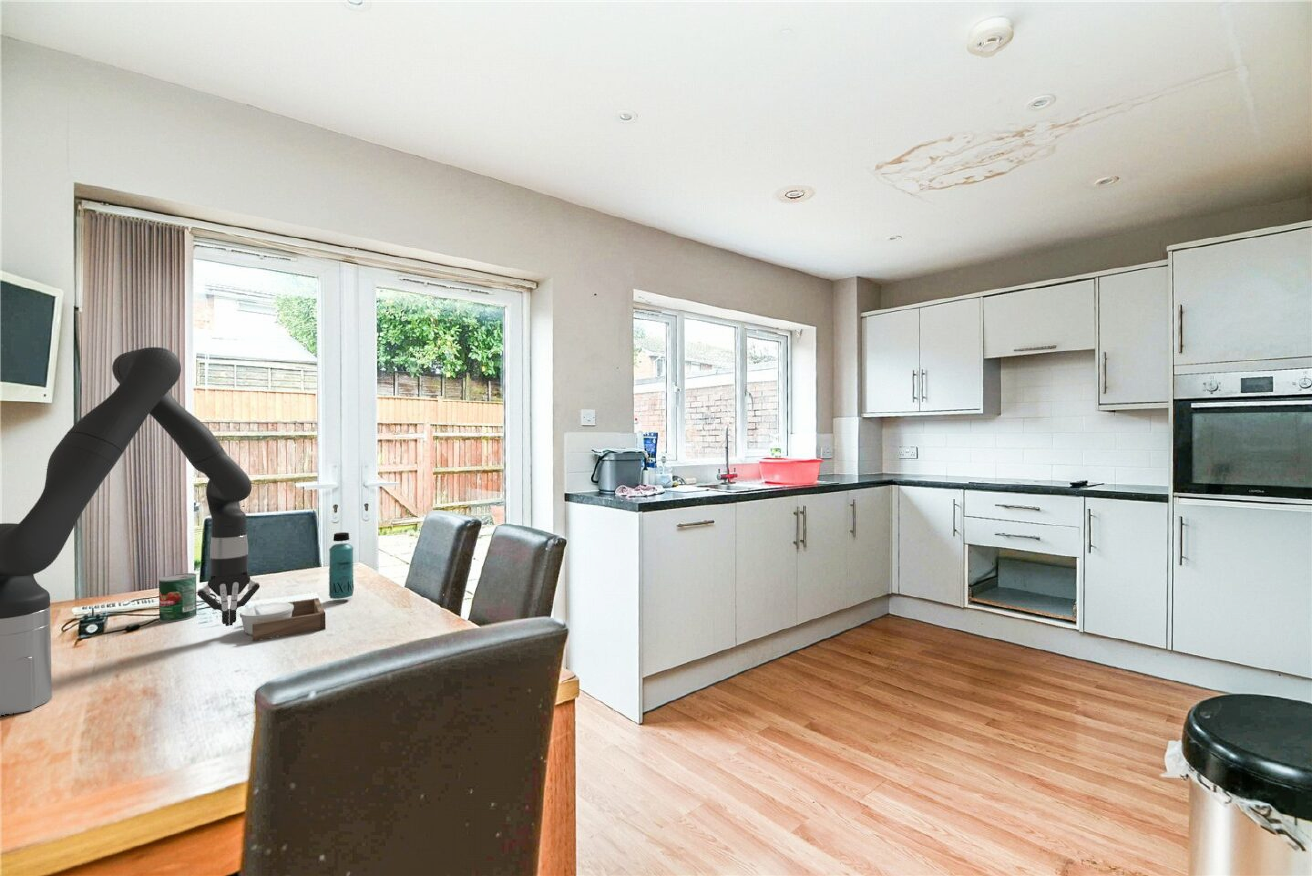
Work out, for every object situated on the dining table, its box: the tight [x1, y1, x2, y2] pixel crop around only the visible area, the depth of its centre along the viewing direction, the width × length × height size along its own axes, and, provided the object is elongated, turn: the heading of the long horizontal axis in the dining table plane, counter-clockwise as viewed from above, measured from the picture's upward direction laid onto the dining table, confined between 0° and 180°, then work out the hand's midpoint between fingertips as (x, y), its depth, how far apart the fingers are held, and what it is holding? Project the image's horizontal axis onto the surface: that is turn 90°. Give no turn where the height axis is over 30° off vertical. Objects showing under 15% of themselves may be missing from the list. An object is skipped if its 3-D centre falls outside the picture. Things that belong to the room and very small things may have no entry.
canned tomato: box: [158, 572, 198, 623], centre depth 160 cm, size 8×8×11 cm
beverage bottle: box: [328, 532, 355, 600], centre depth 175 cm, size 6×7×20 cm
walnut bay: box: [252, 597, 327, 642], centre depth 153 cm, size 16×15×4 cm
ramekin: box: [239, 601, 294, 636], centre depth 150 cm, size 11×11×5 cm
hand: (229, 624), depth 146 cm, fingers closed
